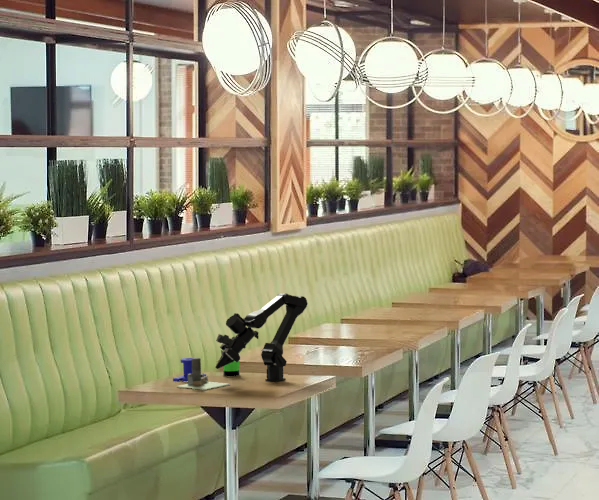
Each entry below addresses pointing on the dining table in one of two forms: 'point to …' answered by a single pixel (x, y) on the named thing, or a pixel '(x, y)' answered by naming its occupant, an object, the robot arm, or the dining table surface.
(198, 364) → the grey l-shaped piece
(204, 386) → the plate
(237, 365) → the bottle
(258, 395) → the dining table surface
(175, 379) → the mount
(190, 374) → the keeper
